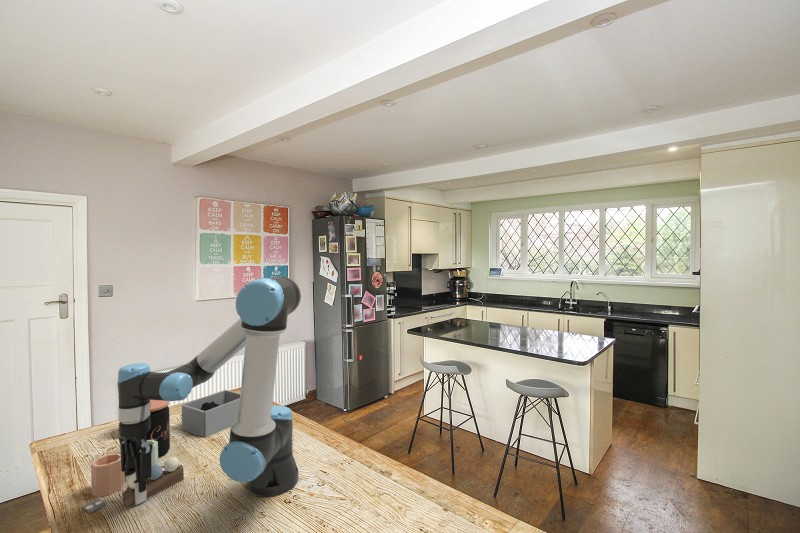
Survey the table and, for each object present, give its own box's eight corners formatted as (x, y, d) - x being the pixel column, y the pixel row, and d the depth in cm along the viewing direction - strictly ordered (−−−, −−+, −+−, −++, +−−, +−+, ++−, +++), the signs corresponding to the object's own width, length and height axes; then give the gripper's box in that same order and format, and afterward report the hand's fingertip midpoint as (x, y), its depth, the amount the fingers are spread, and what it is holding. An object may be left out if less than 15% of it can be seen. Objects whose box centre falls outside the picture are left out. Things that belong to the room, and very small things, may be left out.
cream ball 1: (147, 486, 111) (147, 472, 111) (132, 493, 108) (132, 479, 107) (140, 482, 113) (139, 468, 113) (125, 489, 109) (124, 475, 109)
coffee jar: (153, 463, 131) (152, 411, 130) (126, 460, 133) (125, 408, 132) (177, 448, 141) (176, 399, 141) (152, 445, 143) (151, 397, 143)
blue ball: (165, 477, 115) (165, 464, 115) (151, 484, 112) (151, 470, 112) (157, 473, 117) (157, 460, 117) (143, 480, 114) (143, 467, 114)
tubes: (170, 474, 124) (169, 446, 124) (90, 513, 105) (89, 481, 105) (149, 464, 130) (149, 438, 130) (70, 499, 111) (69, 469, 111)
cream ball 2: (181, 469, 120) (181, 456, 120) (168, 475, 116) (168, 462, 116) (174, 466, 122) (174, 453, 122) (161, 472, 118) (161, 459, 118)
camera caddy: (249, 418, 167) (248, 395, 167) (204, 437, 149) (204, 412, 149) (225, 411, 175) (225, 389, 174) (181, 429, 157) (180, 404, 157)
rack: (183, 479, 121) (183, 465, 121) (127, 508, 107) (126, 492, 107) (179, 477, 122) (178, 463, 122) (122, 506, 108) (122, 489, 108)
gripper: (165, 420, 109) (166, 501, 109) (133, 408, 117) (135, 484, 118) (136, 430, 102) (138, 516, 103) (105, 417, 111) (106, 497, 111)
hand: (136, 499), depth 110 cm, fingers closed on cream ball 1, 4 cm apart
